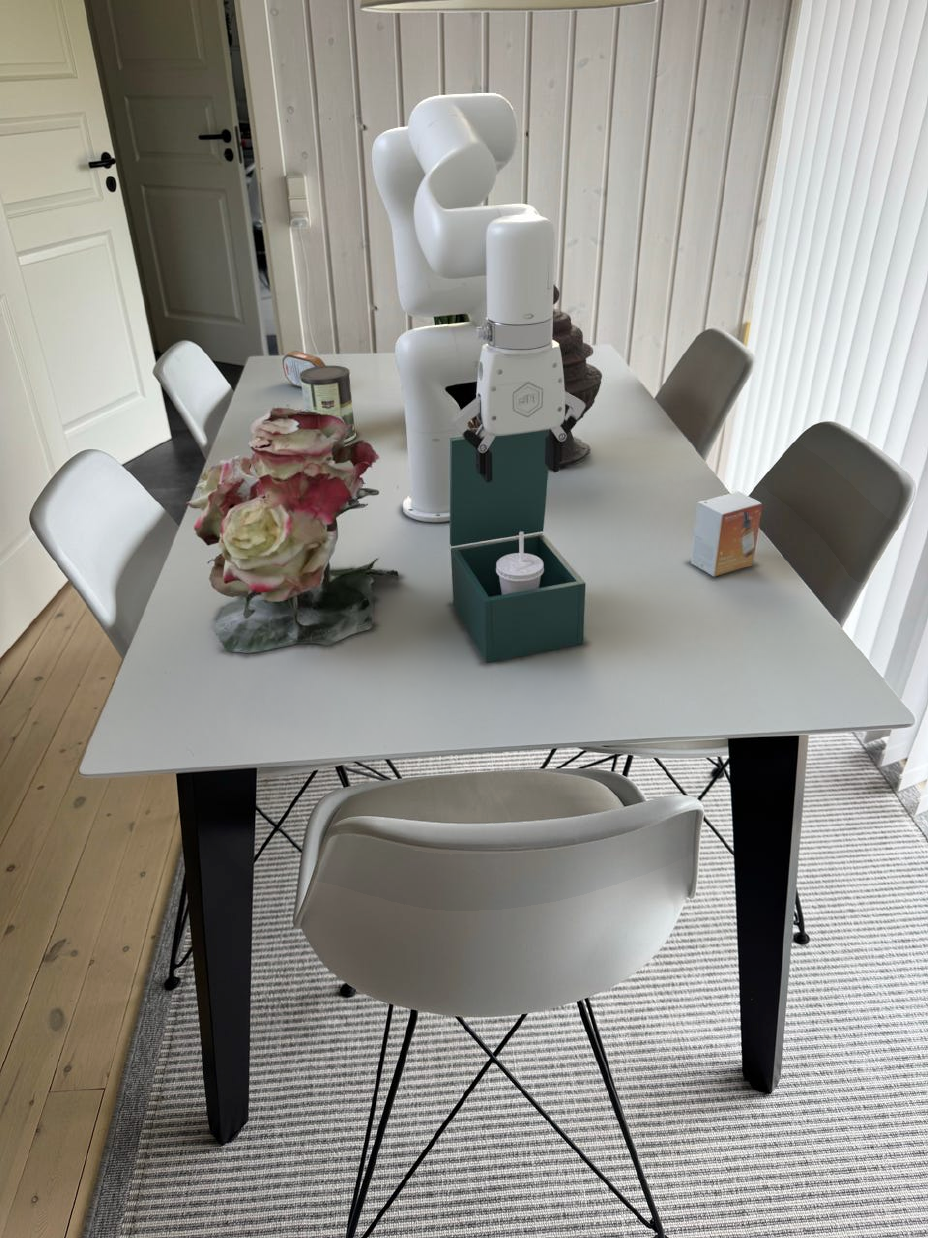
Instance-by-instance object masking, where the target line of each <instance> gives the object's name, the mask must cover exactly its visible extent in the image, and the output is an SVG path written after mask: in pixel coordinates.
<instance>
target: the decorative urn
mask: <svg viewBox="0 0 928 1238" xmlns="http://www.w3.org/2000/svg"><path fill="white" fill-rule="evenodd" d="M559 299H560V291H559V288H557V286H556V284H554V285H553V306H554V305H555V304H557V303H558V301H559ZM552 340H554V341H555V342H557V343H559V346H560V351H561V357H562V365H563V375H564V389H565V391H566V392H567V393H569V394H571V395H573V396H574V397H576V398H578V399H580V400H581V401H582V402H584V403H585V405H586V407H585V409H584V410H583V412H582V414H581V415H580V417H579V418H578V419H577V423H578V422H579V421H580V420H581V419H583V418H584V416H585V415H586V413H587V412H588V411H589V410H590V409H591V408H592V407H593V405H594V403H595V400H596V397H597V396H598V394H599V392H600V388H601V385H602V379H603V374H602V372H601V370H599V369H598V368H597V367H596V366H595V365H592V364H589V363H587V359H588V358H589V357H591V356H593V354H594V348H593V347H592V346H591V345H590V344H588V343H586V342H584V334H583V331H582V330H581V328H580V327H578V326H576V325H575V324H573V323H572V318H571V315H570V314H568V313H567V312H565V311H563V310H560V309H558V308H554V307H553V331H552ZM568 410H569V406H568V405H566V404H565V414H567V412H568ZM591 451H592V450H591V446H590V445H589V444H587V443H586V442H583V441H582V439H579V438H578V437H576V436H574V435H573V432H572V430H571V431H570V432H569V433H568V434H567V437H566V440H565V441H563V443H562V462H560V463H559V469H562V468H566V467H570V466H573V465H576V464H578V463H579V462H581V461H583V460H584V459H585V458H587V456H588V455H590V454H591Z"/></svg>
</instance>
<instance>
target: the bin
mask: <svg viewBox="0 0 928 1238" xmlns="http://www.w3.org/2000/svg"><path fill="white" fill-rule="evenodd" d="M514 553H519V536H514V537H508V538H502V539H496V540H490V541H484V542H478V543H472V544H466V545H460V546H454V547H451V548H450V561H451V562H450V564H451V566H450V567H451V583H452V585H451V586H452V606H453V607H454V609H455V611H456V613H457V614H458V616H459V618H460V620H461V622H462V623H463V625H464V627H465V629H466V630H467V632H468V634H469V635H470V637H471V639H472V640H473V642H474V644H475V646H476V647H477V649H478V651H479V653H480V655H481V657H482V659H484V661H485V663H486V664H487V663H492V662H497V661H503V660H508V659H512V658H517V657H523V656H528V655H533V654H537V653H544V652H548V651H553V650H558V649H564V648H568V647H573V646H574V647H575V646H578V645H583V644H584V632H585V631H584V630H585V610H586V609H585V606H586V585H587V584H586V582H585V581H584V579H582V577H581V576H580V575H579V574H578V573H577V571H576V570H575V569H574V568H573V566H572V565H570V563H569V562H568V561H567V560H566V559H565V558H564V556H563V555H562V554H561V553H560V552H559V551H558V549H557V548H556V547H555V545H553V544H552V542H551V541H550V540H549V539H548V538H547V537H546V535H545V534H544V533H543V532H539V533H532V534H526V535H524V553H527V554H532V555H535V556H537V557H539V558H540V559H541V560H542V561H543V564H544V572H543V574H542V575H541V578H540V585H539V588H537V589H532V590H526V591H521V592H515V593H510V594H504V595H502V592H501V585H500V579H499V575H498V574H497V572H496V563H497V561H498V560H499V559H500V558H502V557H503V556H506V555H509V554H514Z"/></svg>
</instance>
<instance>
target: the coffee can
mask: <svg viewBox="0 0 928 1238" xmlns="http://www.w3.org/2000/svg"><path fill="white" fill-rule="evenodd" d="M300 379H301V385H302V388H301V391H302V399H303V406H304V411H306V412H308V411H310V412H317V413H321V414H325V415H326V414H328V415H330V414H331V415H333V416H336V417H341V418H342V419H343V421H344V422H345V424H346V426H347V428H348V435H347V437H346V438H345V440H344V443H345V444H346V443H349V442H351V441H353V440H354V439H355V438H356V436H357V434H356V428H355V427H356V426H355V418H354V409H353V399H352V398H353V397H352V389H351V380H350V379H351V378H350V369H349V368H347V367H346V366H341V365H326V366H318V367H313V368H309V369H306V370H304V371H302V372H301V373H300Z"/></svg>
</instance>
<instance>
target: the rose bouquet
mask: <svg viewBox="0 0 928 1238" xmlns="http://www.w3.org/2000/svg"><path fill="white" fill-rule="evenodd" d="M289 406H290V404H286V405H285V406H284V407H282V406H281V407H271V408H269V409H268V411H267V412H266V413H265V414H264V415H263V416H260V417H257V418H256V419H255V420H254V421H253V422H252V423H251V425H250V426H249V431H250V432H249V433H250V434H251V435H252V436H253V437H252V441H251V440H250V441H248V443H247V444H248V447H249V448H250V449H251V450H252V451H253V452H254V453H252V454H251V456H250V458H248V457H245V456H243V455H240V454H238V455H235V456H233V457H231V458H227V459H222V460H219V462H218V464H216V465H213V466H211V467H210V468H209V469H207V470H205V471H204V472H202V473H201V475H200V479H202V480H203V482H200V483H197V485H195V487H196V488H198V490H199V492H200V493H199V497H198V498H195V499H193V500H190V501H187V502H186V503H185V505H186V506H187V505H188V506H189V508H191V509H196V510H197V509H200V510H201V511H202V513H201V514H200V516H199V518H198V519H197V520H196V522H195V524H194V525H193V530H194V531H195V535H196V536H197V537H198V538H200V539H201V540H202V541H203V542H204V544H205V545H206V546H208V547H210V546H212V545H215V544H218V545H217V546H218V547H219V548H220V550H221V551H220V554H218V556H215V558H214V559H210V560H208V561H207V562H206V563H207V564H209V563H211V562H214V564H213V566H212V567H211V569H210V574H209V577H208V580H209V582H210V585H211V587H212V589H213V590H215V591H216V592H218V593H219V594H221V595H223V596H226V597H230V598H235V597H242V599H239V600H237V601H235V602H233V603H231V604H229V605H227V606H224V608H223V609H222V611H221V612H220V615H219V616H218V618H217V621H216V623H215V625H214V627H213V630H212V632H213V633H214V634H215V636H217V638H218V640H219V641H220V643H221V644H222V646H223V647H224V649H225V651H226V652H231V653H232V652H234V653H235V652H236V653H244V654H249V653H260V652H264V651H269V650H273V649H279V648H282V647H287V646H292V645H300V644H302V645H303V644H318V645H323V646H331V645H334V643H337V642H339V641H340V640H343V639H345V638H347V637H349V636H350V635H351V636H352V635H354V634H357V633H362V632H364V631H368V630H371V629H372V626H373V620H374V619H373V616H374V602H373V601H374V599H373V592H372V591H373V589H372V584H373V583H374V578H373V577H372V576H373V575H376V576H386V575H387V576H388V575H390V576H396V577H397V578H398V579H397V580H400V579H399V577H400V576H399V572H398V571H397V570H394V569H392V570H391V569H390V570H389V571H387V570H383V569H374V565H375V564H376V561H379V559H380V557H378V558H376V559H374V560H373V561H371V562H369V563H367V564H364V565H362V566H359V567H356V568H353V567H349V568H343V569H331V563H330V560H331V558H332V556H333V555H334V552H335V549H336V546H337V545H336V544H337V542H338V539H339V525H338V521H337V518H338V517H340V516H341V515H342V514H344V513H346V512H347V511H350V510H357V509H363V508H366V507H367V506H368V505H369V503H366V504H365V503H362V502H360V500H362V499H364V498H366V497H369V496H377V495H380V490H379V489H375V488H370V487H364V485H365V484H367V483H366V482H365V481H364V478H363V477H361V476H362V475H364V474H365V473H366V472H367V470H368V469H369V468H373V464H375V463H377V460H379V459H380V456H379V455H378V454H377V452H376V450H375V449H374V447H373V446H372V444H371V442H370V441H369V440H367V439H365V440H364V439H361V440H357V441H355V442H352V443H349V444H347V445H345V444H346V443H344V440H345V438H346V437H347V435H348V428H347V426H346V424H345V422H344V421H343V419H342V418H341V417H336V416H333V415H331V414H330V415H328V414H326V415H325V414H321V413H317V412H310V411H308V412H306V411H305V410H302V409H295V408H290V407H289ZM251 467H252V469H253V470H254V471H255V473H256V475H257V476H255V475H254V474H253V472H252V471H251ZM396 486H397V487H396V488H397V489H399V485H396ZM370 575H372V576H370Z"/></svg>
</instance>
